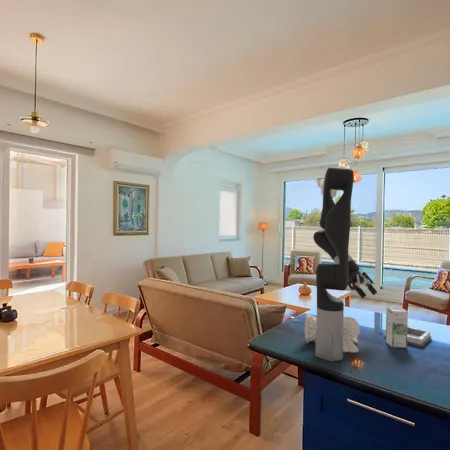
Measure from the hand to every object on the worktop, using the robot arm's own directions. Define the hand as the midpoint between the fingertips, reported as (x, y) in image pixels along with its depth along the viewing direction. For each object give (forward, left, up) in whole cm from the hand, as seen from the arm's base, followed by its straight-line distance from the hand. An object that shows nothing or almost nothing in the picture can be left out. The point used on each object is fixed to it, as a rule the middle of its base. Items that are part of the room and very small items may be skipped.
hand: (370, 295), depth 127 cm
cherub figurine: (-18, +7, -18) cm, 27 cm away
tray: (+12, -11, -18) cm, 24 cm away
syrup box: (0, -10, -18) cm, 21 cm away
